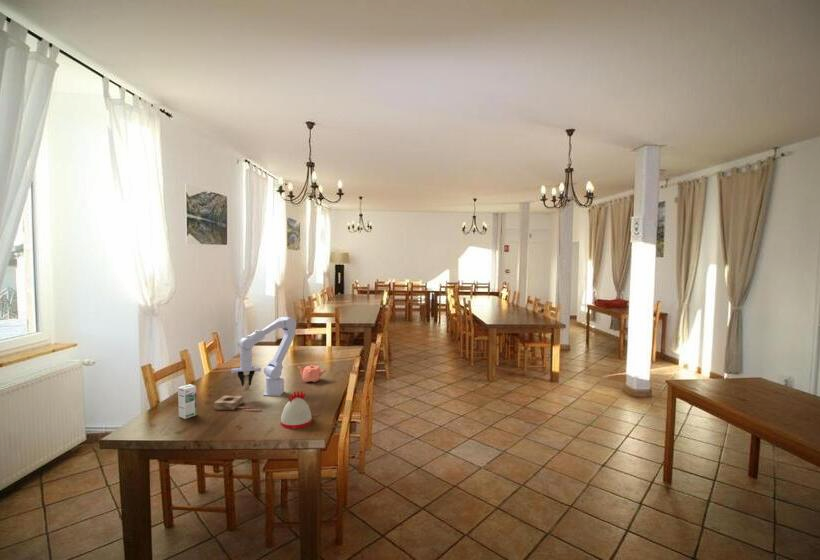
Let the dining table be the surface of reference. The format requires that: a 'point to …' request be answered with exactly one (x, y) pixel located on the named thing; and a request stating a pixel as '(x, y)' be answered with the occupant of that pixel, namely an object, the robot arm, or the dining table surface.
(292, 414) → the kitchen timer
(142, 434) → the dining table surface
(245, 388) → the tan round log
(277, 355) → the robot arm
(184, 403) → the syrup box
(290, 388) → the dining table surface
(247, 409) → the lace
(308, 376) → the teapot
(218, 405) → the wooden square frame
